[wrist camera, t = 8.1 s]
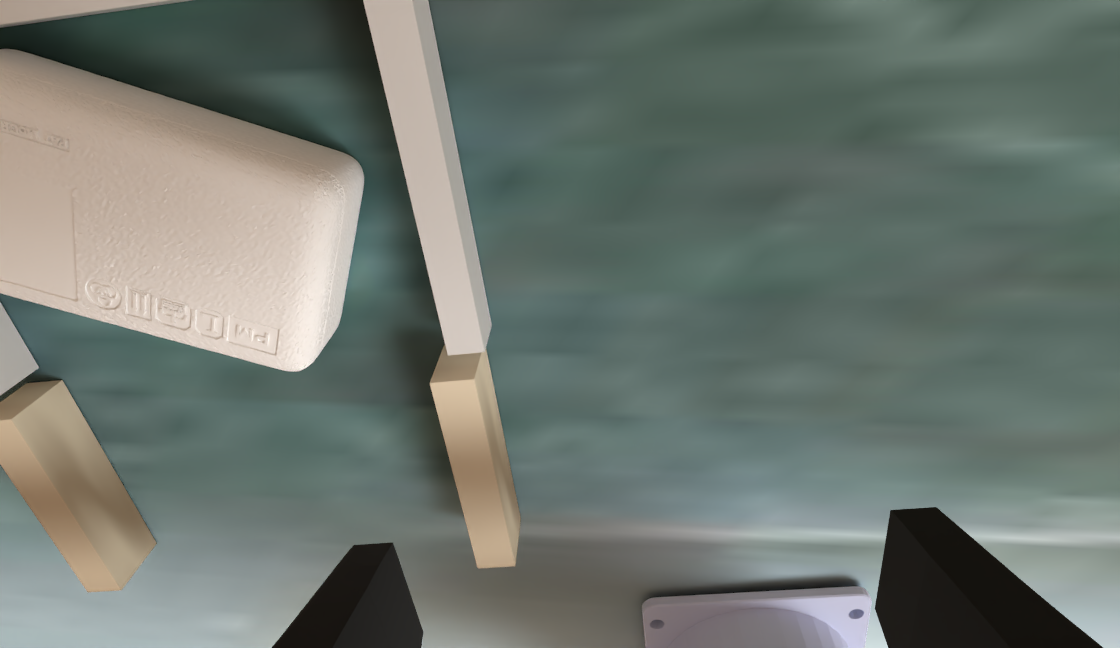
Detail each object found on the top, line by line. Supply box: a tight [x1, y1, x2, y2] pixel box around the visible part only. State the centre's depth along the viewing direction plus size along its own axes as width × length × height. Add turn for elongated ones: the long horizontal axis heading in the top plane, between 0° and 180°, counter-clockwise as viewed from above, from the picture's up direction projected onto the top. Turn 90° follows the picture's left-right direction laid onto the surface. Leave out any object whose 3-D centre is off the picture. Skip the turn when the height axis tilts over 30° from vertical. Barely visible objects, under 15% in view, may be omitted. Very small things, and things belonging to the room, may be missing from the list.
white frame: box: [0, 0, 492, 395], centre depth 16 cm, size 10×15×2 cm, turn 97°
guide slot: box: [0, 345, 521, 592], centre depth 20 cm, size 7×14×2 cm, turn 97°
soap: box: [0, 49, 364, 372], centre depth 16 cm, size 9×6×3 cm, turn 72°
